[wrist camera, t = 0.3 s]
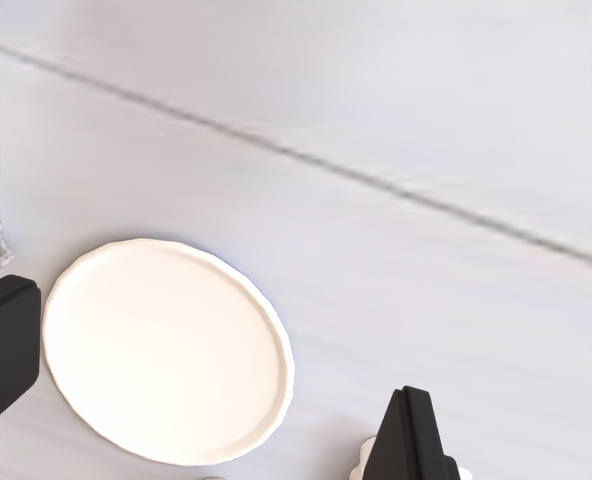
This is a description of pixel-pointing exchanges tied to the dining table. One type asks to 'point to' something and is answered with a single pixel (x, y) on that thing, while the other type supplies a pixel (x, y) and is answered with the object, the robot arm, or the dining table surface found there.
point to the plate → (168, 352)
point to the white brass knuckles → (365, 451)
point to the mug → (5, 252)
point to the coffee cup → (213, 478)
